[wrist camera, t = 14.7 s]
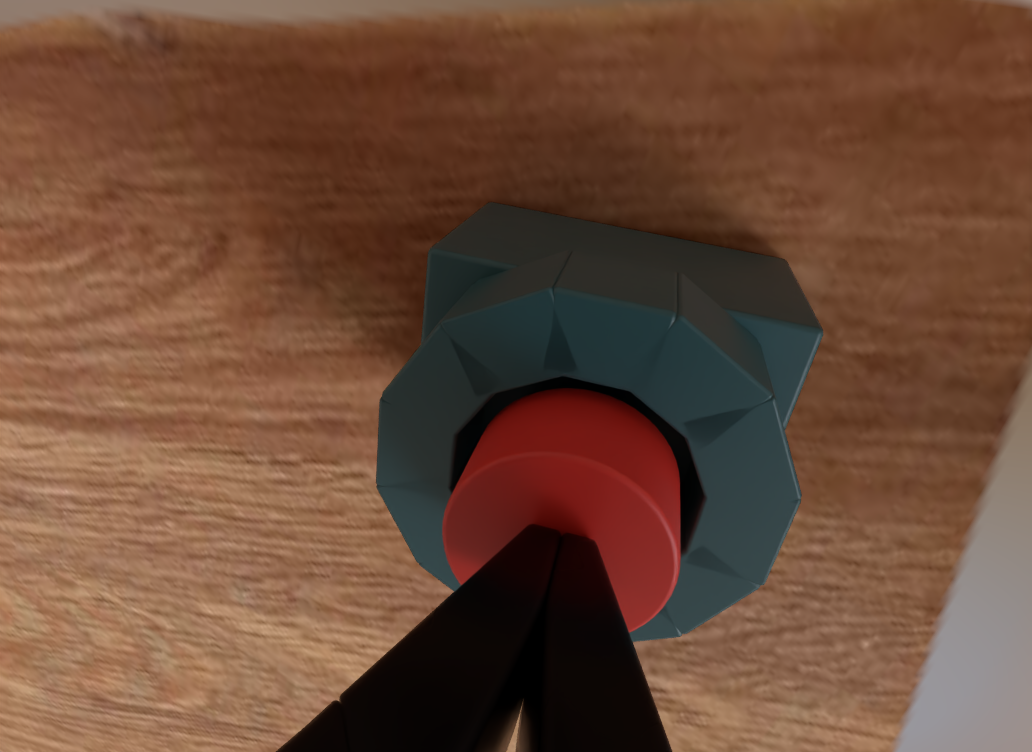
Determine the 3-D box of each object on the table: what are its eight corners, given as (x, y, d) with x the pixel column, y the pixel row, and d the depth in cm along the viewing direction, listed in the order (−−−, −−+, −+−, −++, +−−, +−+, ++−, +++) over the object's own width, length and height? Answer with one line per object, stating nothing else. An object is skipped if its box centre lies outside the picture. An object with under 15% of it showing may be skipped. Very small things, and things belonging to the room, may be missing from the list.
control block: (795, 236, 12) (872, 354, 7) (708, 483, 15) (723, 687, 10) (490, 177, 13) (380, 251, 8) (461, 423, 16) (367, 586, 11)
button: (705, 413, 9) (710, 491, 7) (651, 576, 10) (647, 671, 9) (488, 364, 9) (450, 427, 7) (467, 527, 10) (431, 609, 9)
